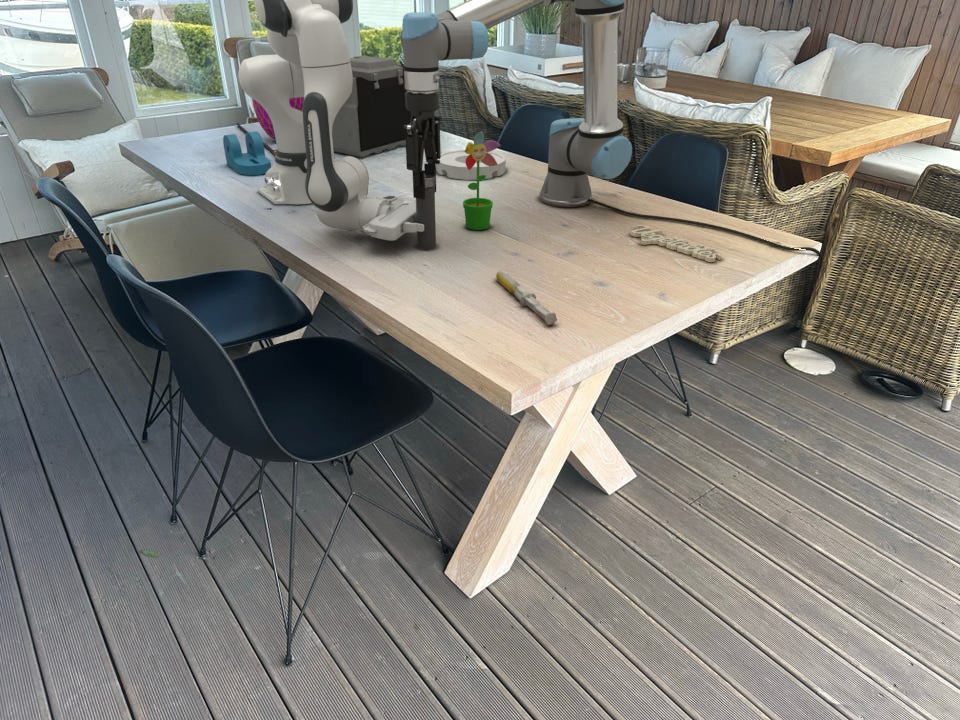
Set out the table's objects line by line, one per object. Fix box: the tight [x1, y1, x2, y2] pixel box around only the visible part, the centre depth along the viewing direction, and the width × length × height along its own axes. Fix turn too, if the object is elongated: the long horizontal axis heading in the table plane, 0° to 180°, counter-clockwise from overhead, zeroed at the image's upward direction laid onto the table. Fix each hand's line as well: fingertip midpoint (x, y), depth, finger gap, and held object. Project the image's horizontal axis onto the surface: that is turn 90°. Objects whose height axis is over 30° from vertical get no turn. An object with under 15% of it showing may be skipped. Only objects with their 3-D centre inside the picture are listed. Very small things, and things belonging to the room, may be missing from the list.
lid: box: [424, 173, 437, 188], centre depth 161 cm, size 5×5×2 cm
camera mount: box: [222, 131, 272, 176], centre depth 226 cm, size 18×10×10 cm, turn 35°
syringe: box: [495, 269, 558, 326], centre depth 143 cm, size 25×4×3 cm, turn 21°
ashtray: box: [436, 149, 507, 181], centre depth 229 cm, size 23×23×4 cm
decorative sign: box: [630, 224, 722, 263], centre depth 172 cm, size 26×1×10 cm
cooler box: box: [332, 55, 419, 159], centre depth 250 cm, size 37×22×30 cm, turn 144°
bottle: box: [415, 186, 437, 251], centre depth 165 cm, size 5×5×17 cm
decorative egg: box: [251, 97, 304, 141], centre depth 257 cm, size 19×19×30 cm
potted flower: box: [462, 131, 501, 231], centre depth 176 cm, size 9×8×25 cm
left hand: (429, 223), depth 167 cm, fingers closed on bottle, 4 cm apart
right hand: (425, 194), depth 163 cm, fingers closed on lid, 5 cm apart
